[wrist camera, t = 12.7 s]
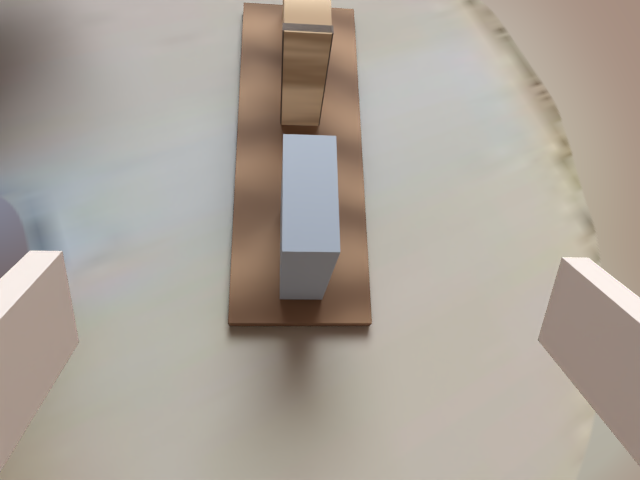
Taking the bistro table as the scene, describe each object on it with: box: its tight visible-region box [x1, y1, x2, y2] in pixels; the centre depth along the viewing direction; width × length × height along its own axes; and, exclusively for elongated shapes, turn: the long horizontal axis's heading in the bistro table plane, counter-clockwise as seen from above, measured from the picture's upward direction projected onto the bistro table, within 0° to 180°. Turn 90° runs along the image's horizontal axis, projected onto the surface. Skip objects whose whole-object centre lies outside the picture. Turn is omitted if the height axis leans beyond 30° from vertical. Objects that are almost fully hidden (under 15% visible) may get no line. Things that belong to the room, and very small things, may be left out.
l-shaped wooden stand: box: [228, 0, 372, 326], centre depth 35 cm, size 29×10×11 cm, turn 1°
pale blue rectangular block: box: [280, 134, 340, 300], centre depth 31 cm, size 7×3×10 cm, turn 1°
